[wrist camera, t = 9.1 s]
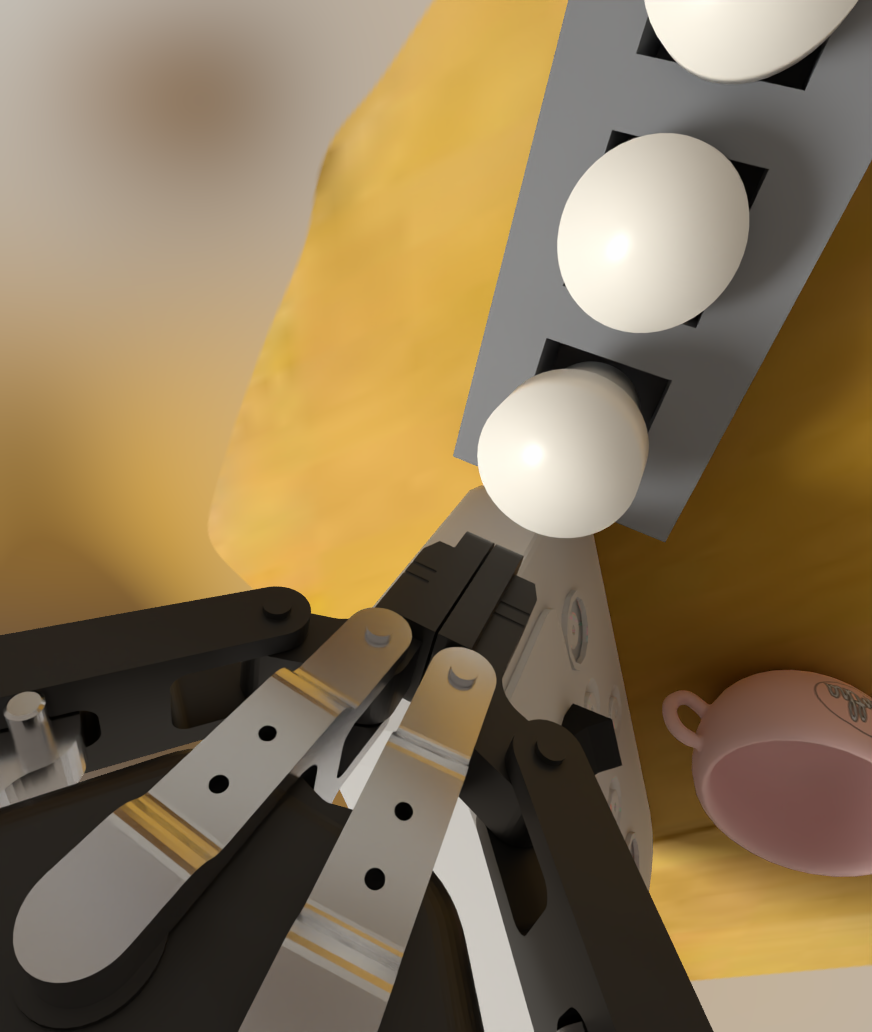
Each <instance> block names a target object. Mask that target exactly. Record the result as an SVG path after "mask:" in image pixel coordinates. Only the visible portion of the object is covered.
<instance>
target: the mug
mask: <svg viewBox="0 0 872 1032" xmlns="http://www.w3.org/2000/svg"><path fill="white" fill-rule="evenodd" d="M680 705H687V706H689V707H690V708H691V709H692V710H694V711H695V712H696V713H697V714H698V715H699V716H700V718H701V722H700V724H699V726H698V729H697V731H696V733H694V732H693V731H691V730H689V729H688V728H686V727H685V726H684V725H683V724H682V723H681V721H680V719H679V717H678V714H677V709H678V707H679V706H680ZM662 713H663V719H664V722H665V724H666V726H667V728H668V730H669V731H670V733H671V734H672V735H673V736H674V737H675V738H676V739H677V740H679V741H680V742H682V743H683V744H685V745H687V746H690V747H693V755H692V774H693V780H694V785H695V790H696V795H697V797H698V799H699V801H700V803H701V805H702V807H703V809H704V811H705V812H706V814H707V815H708V816H709V817H710V819H711V820H712V821H713V822H714V824H715V825H716V826H717V827H718V828H719V829H720V830H721V831H722V832H723V833H724V834H725V835H727V836H728V837H729V838H730V839H731V840H733V841H734V842H736V843H737V844H739V845H740V846H742V847H743V848H745V849H746V850H748V851H749V852H751V853H753V854H755V855H757V856H759V857H761V858H763V859H765V860H767V861H769V862H772V863H775V864H778V865H781V866H784V867H786V868H789V869H793V870H797V871H802V872H806V873H810V874H817V875H825V876H834V877H845V876H863V875H870V874H872V698H871V697H870V696H868V695H867V694H865V693H863V692H862V691H860V690H858V689H857V688H855V687H853V686H852V685H850V684H847V683H845V682H843V681H840V680H838V679H835V678H833V677H830V676H826V675H822V674H818V673H814V672H808V671H799V670H773V671H768V672H763V673H757V674H754V675H751V676H749V677H746V678H744V679H741V680H739V681H737V682H736V683H734V684H733V685H731V686H730V687H728V688H727V689H725V690H724V691H723V692H722V694H721V695H720V696H719V697H718V698H717V699H716V700H715V701H714V702H713V703H712V704H707V703H706V702H705V701H704V700H703V699H701V698H700V697H699V696H697V695H696V694H694V693H692V692H690V691H685V690H679V691H676V692H673V693H671V694H669V695H668V696H667V697H666V698H665V699H664V701H663V705H662Z"/></svg>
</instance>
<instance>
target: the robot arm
mask: <svg viewBox="0 0 872 1032" xmlns="http://www.w3.org/2000/svg"><path fill="white" fill-rule="evenodd" d="M494 545H495V543H493V542H491V541H489V540H487V539H484V538H482V537H480V536H478V535H475V534H473V533H471V532H469V531H467V532H466V533H465V534H464V536H463V537H462V538H461V540H460V541H459V542H458V544H457V545H456V546H455V547H452V546H450V545H448V544H446V543H444V542H441V541H439V542H436V543H434V544H432V545H430V546H427V547H425V548H423V549H422V551H421V552H420V553H419V554H418V556H417V557H416V558H415V559H414V561H413V563H411V564H410V565H409V566H408V568H407V569H406V570H405V572H404V573H403V574H402V575H401V576H400V577H399V579H398V580H397V581H396V582H395V583H394V585H393V586H392V587H391V588H390V589H389V591H388V592H387V593H386V594H385V596H384V597H383V598H382V599H381V600H380V602H379V603H378V604H377V605H376V606H375V608H367V609H363V610H360V611H358V612H357V613H355V614H354V615H353V616H351V617H350V618H349V619H337V618H331V617H326V616H321V615H316V614H311V607H310V604H309V602H308V601H307V599H306V598H305V597H304V596H303V595H302V594H300V593H299V592H297V591H295V590H293V589H290V588H286V587H266V588H261V589H255V590H250V591H244V592H239V593H234V594H228V595H222V596H217V597H211V598H206V599H200V600H194V601H189V602H183V603H178V604H172V605H166V606H161V607H155V608H150V609H144V610H139V611H133V612H128V613H123V614H116V615H111V616H105V617H100V618H94V619H89V620H84V621H78V622H73V623H66V624H61V625H55V626H50V627H44V628H38V629H33V630H28V631H22V632H16V633H11V634H5V635H0V1032H484V1027H483V1022H482V1017H481V1012H480V1007H479V1002H478V998H477V993H476V988H475V983H474V978H473V973H472V968H471V963H470V959H469V954H468V949H467V944H466V939H465V935H464V931H463V927H462V924H461V921H460V918H459V915H458V912H457V909H456V907H455V905H454V903H453V901H452V899H451V896H450V895H449V893H448V891H447V890H446V888H445V886H444V885H443V883H442V882H441V880H440V879H439V878H438V876H437V875H436V874H435V873H434V871H433V868H434V865H435V862H436V859H437V857H438V854H439V851H440V848H441V845H442V842H443V840H444V837H445V834H446V831H447V828H448V825H449V822H450V820H451V817H452V814H453V811H454V808H455V805H456V802H457V800H458V797H459V798H460V799H461V800H462V801H463V802H464V803H465V804H466V805H467V806H468V807H469V808H470V809H471V810H472V811H473V812H474V813H475V814H476V827H477V832H478V835H479V839H480V842H481V846H482V850H483V853H484V857H485V860H486V864H487V867H488V871H489V874H490V878H491V881H492V885H493V888H494V892H495V895H496V899H497V902H498V906H499V909H500V913H501V917H502V920H503V924H504V927H505V931H506V934H507V938H508V941H509V945H510V948H511V952H512V955H513V959H514V962H515V966H516V969H517V973H518V977H519V980H520V984H521V987H522V991H523V994H524V998H525V1001H526V1005H527V1008H528V1012H529V1015H530V1019H531V1022H532V1026H533V1029H534V1032H713V1030H712V1027H711V1026H710V1023H709V1021H708V1019H707V1017H706V1015H705V1013H704V1010H703V1008H702V1006H701V1004H700V1002H699V999H698V997H697V995H696V993H695V991H694V989H693V986H692V984H691V982H690V980H689V978H688V976H687V973H686V971H685V969H684V967H683V965H682V963H681V960H680V958H679V956H678V954H677V952H676V950H675V948H674V945H673V943H672V941H671V939H670V937H669V935H668V932H667V930H666V928H665V926H664V924H663V922H662V919H661V917H660V915H659V913H658V911H657V909H656V906H655V904H654V902H653V900H652V898H651V896H650V893H649V891H648V889H647V887H646V885H645V883H644V881H643V878H642V876H641V874H640V872H639V870H638V868H637V865H636V863H635V861H634V859H633V857H632V855H631V852H630V850H629V848H628V846H627V844H626V842H625V839H624V837H623V835H622V833H621V831H620V829H619V826H618V824H617V822H616V820H615V818H614V816H613V814H612V811H611V809H610V807H609V805H608V803H607V801H606V798H605V796H604V794H603V792H602V790H601V788H600V785H599V783H598V781H597V779H596V777H595V775H594V772H593V770H592V768H591V766H590V764H589V762H588V759H587V757H586V755H585V753H584V751H583V749H582V747H581V745H580V743H579V742H578V740H577V739H576V738H575V737H574V735H573V734H572V733H571V732H569V731H568V730H567V729H566V728H564V727H563V726H561V725H559V724H557V723H555V722H552V721H549V720H543V719H535V720H530V721H528V720H527V719H526V718H525V717H524V716H523V715H521V714H520V713H519V712H518V711H517V710H516V709H515V708H514V707H513V706H512V704H511V703H510V702H509V700H508V698H507V697H506V694H505V692H504V689H503V684H502V678H503V676H504V674H505V672H506V670H507V668H508V665H509V663H510V661H511V659H512V657H513V655H514V652H515V650H516V648H517V646H518V644H519V642H520V639H521V637H522V635H523V632H524V630H525V628H526V625H527V623H528V621H529V618H530V616H531V614H532V611H533V609H534V607H535V604H536V602H537V595H536V587H535V584H534V583H532V582H530V581H528V580H526V579H523V578H521V577H519V576H517V573H518V571H519V568H520V566H521V563H522V560H523V557H524V556H523V555H521V554H518V553H516V552H514V551H512V550H509V549H507V548H505V547H503V546H500V545H498V544H496V545H495V546H494ZM402 698H403V699H405V700H407V701H409V702H411V703H410V705H409V707H408V709H407V711H406V713H405V715H404V717H403V719H402V721H401V723H400V725H399V727H398V729H397V731H396V732H395V731H394V732H393V733H392V734H391V736H390V737H389V739H388V741H387V743H386V745H385V747H384V749H383V751H382V753H381V755H380V757H379V759H378V761H377V763H376V765H375V767H374V769H373V771H372V773H371V775H370V777H369V779H368V781H367V783H366V785H365V787H364V789H363V791H362V793H361V795H360V797H359V799H358V801H357V803H356V805H355V807H354V809H353V810H352V809H349V808H345V807H341V806H338V805H334V804H331V803H332V801H333V799H334V797H335V796H336V794H337V792H338V791H339V789H340V788H341V786H342V785H343V783H344V782H345V781H346V779H347V778H348V777H349V775H350V774H351V773H352V772H353V770H354V769H355V768H356V766H357V765H358V764H359V762H360V761H361V760H362V758H363V757H364V756H365V754H366V753H367V752H368V750H369V749H370V748H371V746H372V745H373V744H374V742H375V741H376V740H377V738H378V737H379V736H380V734H381V733H382V732H383V730H384V729H385V728H386V726H387V725H388V723H389V720H390V716H391V715H392V714H393V712H394V711H395V709H396V708H397V706H398V705H399V703H400V701H401V700H402ZM202 739H204V740H203V741H202V742H201V743H199V744H198V745H197V746H196V747H195V748H194V749H187V750H182V751H177V752H173V753H170V754H166V755H163V756H160V757H157V758H154V759H151V760H148V761H144V762H141V763H138V764H135V765H133V766H129V767H126V768H123V769H120V770H116V771H113V772H110V773H107V774H104V775H101V776H98V777H95V778H92V779H89V780H86V781H82V782H79V783H77V782H78V781H79V780H80V779H81V777H82V775H83V774H84V773H88V772H91V771H94V770H98V769H101V768H105V767H108V766H112V765H115V764H119V763H122V762H126V761H129V760H133V759H136V758H140V757H143V756H147V755H150V754H154V753H157V752H160V751H164V750H167V749H171V748H175V747H178V746H182V745H185V744H189V743H192V742H195V741H198V740H202Z"/></svg>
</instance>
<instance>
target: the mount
mask: <svg viewBox="0 0 872 1032" xmlns="http://www.w3.org/2000/svg"><path fill="white" fill-rule="evenodd" d="M657 133H675V134H681V135H687V136H690V137H693V138H696V139H699V140H701V141H703V142H705V143H707V144H709V145H711V146H713V147H714V148H716V149H717V150H718V151H720V152H721V153H722V154H724V155H725V157H726V158H727V159H728V160H729V161H730V162H731V163H732V164H733V166H734V167H735V169H736V170H737V172H738V173H739V175H740V178H741V180H742V182H743V184H744V187H745V191H746V194H747V199H748V206H749V232H748V240H747V244H746V248H745V251H744V255H743V257H742V260H741V262H740V265H739V267H738V269H737V271H736V273H735V275H734V276H733V278H732V280H731V281H730V283H729V284H728V286H727V287H726V288H725V290H724V291H723V292H722V293H721V294H720V296H719V297H718V298H717V299H716V300H715V301H714V302H713V303H712V304H711V305H710V306H708V307H707V308H706V309H705V310H704V311H702V312H701V313H699V314H698V315H697V316H695V317H694V318H692V319H690V320H688V321H686V322H684V323H683V324H680V325H678V326H675V327H673V328H670V329H666V330H662V331H657V332H650V333H632V332H624V331H620V330H616V329H613V328H610V327H608V326H605V325H603V324H601V323H600V322H598V321H596V320H594V319H593V318H592V317H590V316H589V315H588V314H587V313H585V312H584V311H583V310H582V309H581V308H580V307H579V305H578V304H577V303H576V302H575V300H574V299H573V298H572V296H571V295H570V293H569V291H568V289H567V287H566V285H565V283H564V280H563V278H562V275H561V271H560V267H559V262H558V254H557V239H558V230H559V225H560V221H561V216H562V213H563V210H564V208H565V205H566V202H567V200H568V198H569V196H570V194H571V192H572V190H573V189H574V187H575V186H576V184H577V183H578V181H579V180H580V178H581V177H582V176H583V175H584V173H585V172H586V171H587V170H588V169H589V168H590V167H591V166H592V165H593V164H594V163H595V162H596V161H597V160H598V159H599V158H601V157H602V156H603V155H604V154H606V153H607V152H608V151H610V150H612V149H613V148H615V147H617V146H618V145H620V144H622V143H624V142H627V141H629V140H631V139H634V138H637V137H641V136H645V135H650V134H657ZM871 160H872V0H858V2H857V3H856V4H855V6H854V7H853V9H852V10H851V11H850V13H849V14H848V15H847V16H846V18H845V19H844V20H843V22H842V23H841V24H840V25H839V27H838V28H837V29H836V30H835V31H834V32H833V33H832V34H831V35H830V36H829V37H828V38H827V39H826V40H825V41H824V42H823V43H822V44H821V45H820V46H819V47H817V48H816V49H815V50H814V51H813V52H812V53H810V54H809V55H808V56H806V57H805V58H803V59H802V60H801V61H799V62H798V63H796V64H795V65H793V66H791V67H789V68H788V69H786V70H784V71H782V72H780V73H778V74H775V75H773V76H771V77H768V78H765V79H762V80H759V81H755V82H751V83H744V84H727V85H725V84H718V83H712V82H709V81H706V80H702V79H700V78H698V77H696V76H694V75H692V74H690V73H689V72H687V71H686V70H685V69H683V68H682V67H681V66H680V65H679V64H678V63H677V62H676V61H675V60H674V59H673V58H672V57H671V56H670V54H669V53H668V51H667V50H666V48H665V47H664V46H663V44H662V43H661V41H660V40H659V38H658V37H657V35H656V33H655V31H654V29H653V27H652V25H651V23H650V20H649V17H648V13H647V10H646V7H645V2H644V0H568V4H567V8H566V12H565V16H564V20H563V24H562V28H561V32H560V36H559V40H558V44H557V47H556V51H555V55H554V59H553V63H552V67H551V71H550V75H549V79H548V83H547V87H546V91H545V95H544V99H543V103H542V107H541V111H540V115H539V119H538V123H537V126H536V130H535V134H534V138H533V142H532V146H531V150H530V154H529V158H528V162H527V166H526V170H525V174H524V178H523V182H522V186H521V190H520V194H519V198H518V202H517V205H516V209H515V213H514V217H513V221H512V225H511V229H510V233H509V237H508V241H507V245H506V249H505V253H504V257H503V261H502V265H501V269H500V273H499V277H498V281H497V284H496V288H495V292H494V296H493V300H492V304H491V308H490V312H489V316H488V320H487V324H486V328H485V332H484V336H483V340H482V344H481V348H480V352H479V356H478V360H477V363H476V367H475V371H474V375H473V379H472V383H471V387H470V391H469V395H468V399H467V403H466V407H465V411H464V415H463V419H462V423H461V427H460V431H459V435H458V439H457V443H456V446H455V450H454V454H453V456H454V457H456V458H459V459H461V460H463V461H466V462H468V463H471V464H473V465H476V466H478V458H477V453H478V443H479V438H480V435H481V432H482V429H483V427H484V425H485V423H486V421H487V419H488V418H489V417H490V415H491V414H492V413H493V411H494V410H495V409H496V408H497V407H498V406H499V405H500V404H501V403H502V402H503V401H504V400H505V399H506V398H507V397H508V396H509V395H510V394H511V393H512V392H513V391H514V390H515V389H516V388H517V387H518V386H520V385H521V384H522V383H524V382H525V381H526V380H528V379H530V378H532V377H533V376H536V375H538V374H541V373H543V372H547V371H551V370H557V369H565V368H567V367H569V366H571V365H574V364H577V363H581V362H588V361H593V362H602V363H605V364H608V365H611V366H613V367H615V368H617V369H618V370H620V371H621V372H623V373H624V374H625V375H626V376H627V377H628V378H629V379H630V380H631V382H632V383H633V385H634V387H635V388H636V390H637V393H638V396H639V400H640V412H641V414H642V416H643V419H644V421H645V424H646V428H647V432H648V440H649V450H648V458H647V462H646V466H645V469H644V472H643V475H642V478H641V481H640V484H639V487H638V490H637V493H636V495H635V498H634V500H633V501H632V503H631V505H630V507H629V508H628V509H627V510H626V512H625V513H624V514H623V515H622V516H621V517H620V518H619V519H618V520H617V521H616V523H619V524H621V525H624V526H626V527H629V528H631V529H633V530H636V531H638V532H641V533H643V534H646V535H648V536H651V537H653V538H656V539H658V540H661V541H663V542H666V540H667V538H668V536H669V534H670V532H671V530H672V529H673V527H674V525H675V523H676V521H677V519H678V518H679V516H680V514H681V512H682V510H683V508H684V506H685V505H686V503H687V501H688V499H689V497H690V495H691V493H692V492H693V490H694V488H695V486H696V484H697V482H698V481H699V479H700V477H701V475H702V473H703V471H704V469H705V468H706V466H707V464H708V462H709V460H710V458H711V456H712V455H713V453H714V451H715V449H716V447H717V445H718V444H719V442H720V440H721V438H722V436H723V434H724V432H725V431H726V429H727V427H728V425H729V423H730V421H731V419H732V418H733V416H734V414H735V412H736V410H737V408H738V407H739V405H740V403H741V401H742V399H743V397H744V395H745V394H746V392H747V390H748V388H749V386H750V384H751V382H752V381H753V379H754V377H755V375H756V373H757V371H758V370H759V368H760V366H761V364H762V362H763V360H764V358H765V357H766V355H767V353H768V351H769V349H770V347H771V345H772V344H773V342H774V340H775V338H776V336H777V334H778V333H779V331H780V329H781V327H782V325H783V323H784V321H785V320H786V318H787V316H788V314H789V312H790V310H791V308H792V307H793V305H794V303H795V301H796V299H797V297H798V296H799V294H800V292H801V290H802V288H803V286H804V284H805V283H806V281H807V279H808V277H809V275H810V273H811V271H812V270H813V268H814V266H815V264H816V262H817V260H818V259H819V257H820V255H821V253H822V251H823V249H824V247H825V246H826V244H827V242H828V240H829V238H830V236H831V234H832V233H833V231H834V229H835V227H836V225H837V223H838V222H839V220H840V218H841V216H842V214H843V212H844V210H845V209H846V207H847V205H848V203H849V201H850V199H851V197H852V196H853V194H854V192H855V190H856V188H857V186H858V185H859V183H860V181H861V179H862V177H863V175H864V173H865V172H866V170H867V168H868V166H869V164H870V162H871Z"/></svg>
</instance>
